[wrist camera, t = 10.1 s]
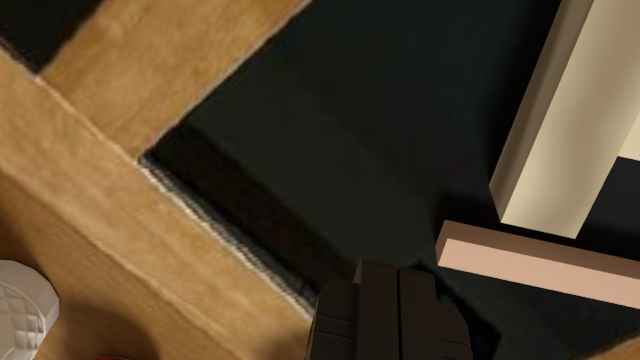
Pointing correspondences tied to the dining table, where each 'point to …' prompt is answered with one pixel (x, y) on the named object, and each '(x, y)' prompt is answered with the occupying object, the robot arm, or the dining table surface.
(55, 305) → the white cup
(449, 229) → the frame
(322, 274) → the dining table surface
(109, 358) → the snack package
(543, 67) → the T block
